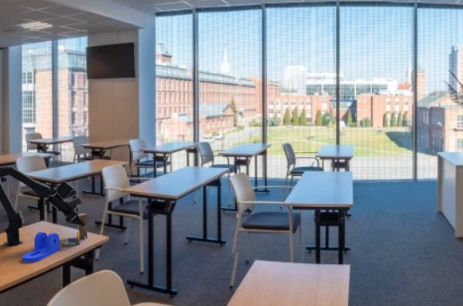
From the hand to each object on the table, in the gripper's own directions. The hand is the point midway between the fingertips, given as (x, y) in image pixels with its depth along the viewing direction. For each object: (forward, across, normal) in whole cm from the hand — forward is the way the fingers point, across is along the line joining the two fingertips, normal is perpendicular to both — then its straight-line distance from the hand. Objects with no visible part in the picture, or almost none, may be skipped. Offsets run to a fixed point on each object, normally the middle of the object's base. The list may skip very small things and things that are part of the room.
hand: (84, 223), depth 232 cm
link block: (+5, 0, +6) cm, 7 cm away
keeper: (0, -10, +10) cm, 14 cm away
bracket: (-9, -23, +20) cm, 31 cm away
